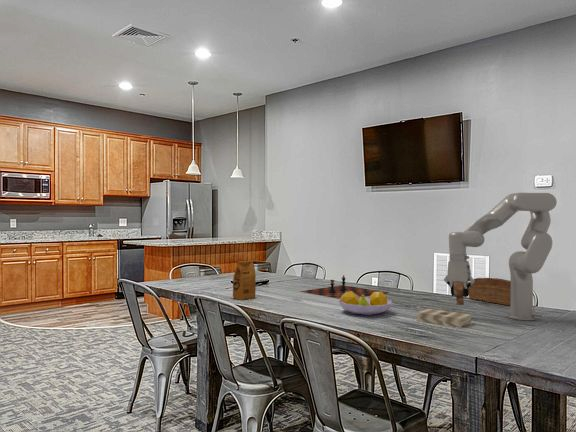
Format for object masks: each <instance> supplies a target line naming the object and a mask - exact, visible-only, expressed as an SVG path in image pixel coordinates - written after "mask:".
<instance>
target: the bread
mask: <svg viewBox="0 0 576 432" xmlns="http://www.w3.org/2000/svg"><path fill="white" fill-rule="evenodd" d="M473 279H474V280H475V282H474V283H473V284H472V285H471V286H470V287H469V288H468V289H469V295H468V298H469V299H470V298H471V299H470V300H474V301H481V302H487V303H493V304H494V303H495V304H500V305H504V306H509V305H510V307H511V280H508V279H504V278H498V277H497V278H496V277H477V278H473ZM477 299H478V300H477ZM482 300H483V301H482Z"/></svg>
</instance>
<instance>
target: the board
mask: <svg viewBox="0 0 576 432" xmlns="http://www.w3.org/2000/svg"><path fill="white" fill-rule="evenodd" d="M416 312H417V315H416V316H417V317H416V318H417V319H416V321H417V322H421V321H422V322H421V323H427V322H428V323H429V324H433V323H435V324H434V325H439V324H440V325H441V326H444V325H447V326H446V327H450V326H453V327H452V328H456V327H458V329H460V327H461V328H463V326H464V327H466V326H468V324H469V325H471V324H472V314H468V313H461V312H455V311H447V310H441V309H434V308H426V309H424V310H420V311H416ZM470 323H471V324H470ZM440 325H439V326H440ZM465 325H466V326H465Z"/></svg>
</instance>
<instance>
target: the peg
mask: <svg viewBox="0 0 576 432" xmlns="http://www.w3.org/2000/svg"><path fill="white" fill-rule="evenodd" d="M453 285H454V296H453V297H455V300H456V306H463V305H465V302H464V300H465V299H464V298H465V297H464V289H465V288H464V285H463V282H453Z"/></svg>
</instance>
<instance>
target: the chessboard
mask: <svg viewBox="0 0 576 432" xmlns="http://www.w3.org/2000/svg"><path fill="white" fill-rule="evenodd" d="M341 280H342V281H341V285H340V284H339V285H335V283H334V282H335V279H330V280H329V281H330V282H331V283H330V286H327V287H319V288H312V289H305V290H300V291H299V292H300V293H304V294H311V295H314V296H315V295H316V296H321V297H327V298H332V299H338V300H339V299H340V298H341V296H342V295H343V294H344V293H346V292H349V291H352V292H354V293H355V294H356V295H358V297H362V295H364V297H370V295H371V294H372V293H373V292H383V293H384V295H386V294H389V291H383V290H376V289H372V288H371V289H370V288H364V287H358V286H352V285H351V286H349V285H346V277H345V275H342V277H341Z"/></svg>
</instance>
